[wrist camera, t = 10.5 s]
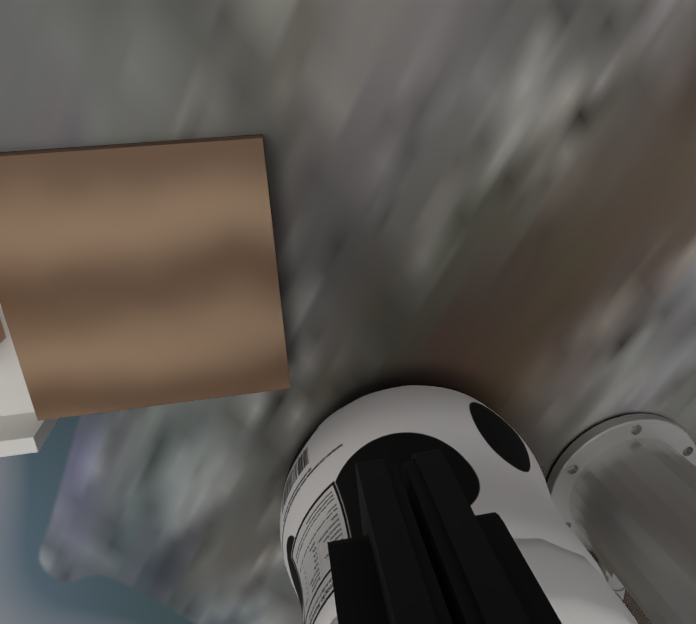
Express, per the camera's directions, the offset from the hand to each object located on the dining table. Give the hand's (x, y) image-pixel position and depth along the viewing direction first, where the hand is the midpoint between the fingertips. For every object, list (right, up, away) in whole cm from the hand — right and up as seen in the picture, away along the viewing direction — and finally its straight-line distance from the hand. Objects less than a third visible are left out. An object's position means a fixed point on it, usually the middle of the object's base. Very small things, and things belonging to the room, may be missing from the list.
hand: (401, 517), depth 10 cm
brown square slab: (-12, +7, +21) cm, 25 cm away
